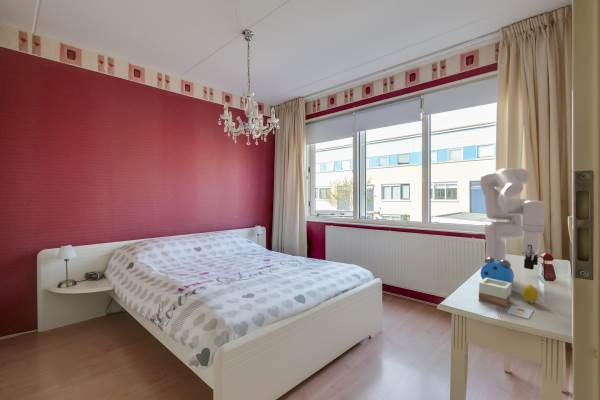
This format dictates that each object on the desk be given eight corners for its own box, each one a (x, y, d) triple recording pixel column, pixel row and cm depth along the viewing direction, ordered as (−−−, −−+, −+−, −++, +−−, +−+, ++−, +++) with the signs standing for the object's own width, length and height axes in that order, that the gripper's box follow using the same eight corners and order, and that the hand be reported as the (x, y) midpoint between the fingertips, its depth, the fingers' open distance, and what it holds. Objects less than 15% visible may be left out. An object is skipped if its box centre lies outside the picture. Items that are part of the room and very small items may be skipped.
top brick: (485, 286, 133) (485, 277, 133) (511, 292, 126) (511, 283, 126) (478, 292, 127) (479, 282, 126) (505, 298, 119) (506, 288, 119)
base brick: (484, 294, 134) (485, 286, 133) (510, 301, 126) (511, 292, 126) (478, 300, 127) (478, 292, 127) (505, 308, 119) (505, 298, 119)
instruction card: (512, 305, 122) (512, 305, 122) (532, 311, 117) (532, 310, 117) (506, 312, 115) (506, 312, 115) (528, 318, 110) (528, 318, 110)
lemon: (539, 306, 122) (540, 288, 121) (524, 304, 124) (525, 286, 123) (534, 301, 127) (535, 283, 126) (519, 299, 129) (520, 282, 128)
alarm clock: (513, 289, 140) (514, 260, 140) (509, 292, 137) (511, 262, 136) (484, 282, 151) (485, 255, 150) (479, 284, 147) (480, 256, 146)
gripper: (525, 225, 132) (524, 261, 133) (517, 229, 120) (516, 268, 121) (547, 227, 126) (544, 264, 127) (540, 231, 115) (538, 272, 116)
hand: (530, 266), depth 124 cm, fingers open, 9 cm apart
